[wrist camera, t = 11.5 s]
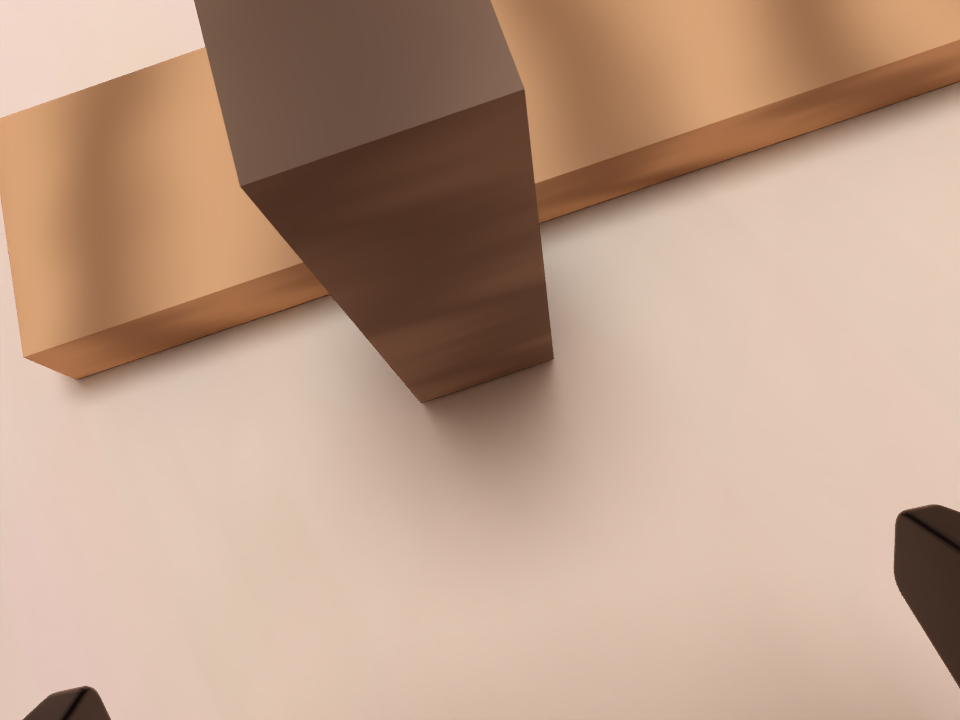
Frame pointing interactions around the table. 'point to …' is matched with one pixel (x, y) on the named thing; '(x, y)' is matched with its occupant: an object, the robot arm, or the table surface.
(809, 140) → the table surface
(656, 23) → the oak board
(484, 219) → the brown wooden block
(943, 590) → the robot arm
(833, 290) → the table surface
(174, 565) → the table surface
